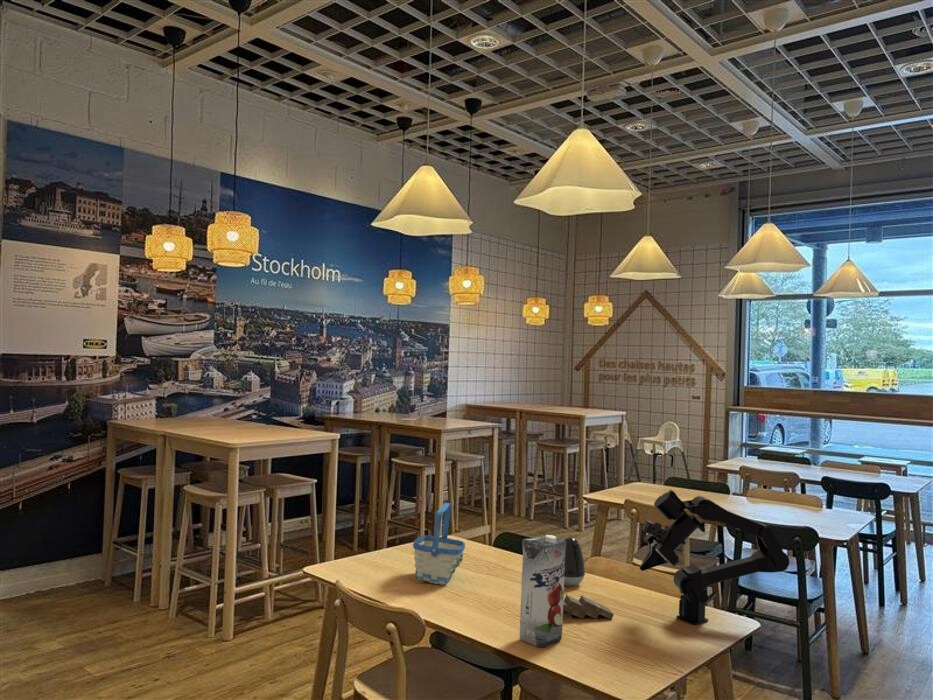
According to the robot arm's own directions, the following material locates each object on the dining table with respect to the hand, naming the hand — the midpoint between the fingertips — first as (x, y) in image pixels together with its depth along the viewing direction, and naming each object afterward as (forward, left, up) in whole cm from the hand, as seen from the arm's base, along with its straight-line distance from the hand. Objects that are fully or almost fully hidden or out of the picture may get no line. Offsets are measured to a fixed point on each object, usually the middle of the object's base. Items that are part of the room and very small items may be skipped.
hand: (640, 569), depth 199 cm
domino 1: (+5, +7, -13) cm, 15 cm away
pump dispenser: (+33, -4, -14) cm, 36 cm away
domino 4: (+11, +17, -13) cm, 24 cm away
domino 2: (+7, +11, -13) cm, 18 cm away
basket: (+58, +31, -14) cm, 67 cm away
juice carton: (+1, +37, -14) cm, 39 cm away
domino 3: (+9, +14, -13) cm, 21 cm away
